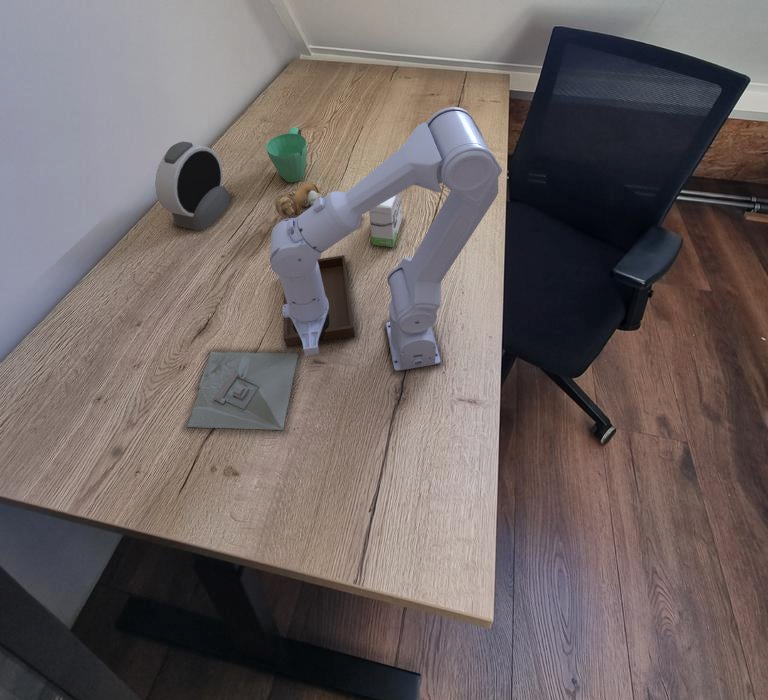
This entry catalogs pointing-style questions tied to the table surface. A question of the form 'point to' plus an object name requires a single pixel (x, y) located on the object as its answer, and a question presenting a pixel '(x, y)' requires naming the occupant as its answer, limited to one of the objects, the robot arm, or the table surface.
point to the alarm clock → (191, 185)
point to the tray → (338, 302)
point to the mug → (288, 154)
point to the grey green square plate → (244, 391)
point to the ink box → (386, 221)
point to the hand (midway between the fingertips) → (317, 338)
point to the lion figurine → (295, 201)
